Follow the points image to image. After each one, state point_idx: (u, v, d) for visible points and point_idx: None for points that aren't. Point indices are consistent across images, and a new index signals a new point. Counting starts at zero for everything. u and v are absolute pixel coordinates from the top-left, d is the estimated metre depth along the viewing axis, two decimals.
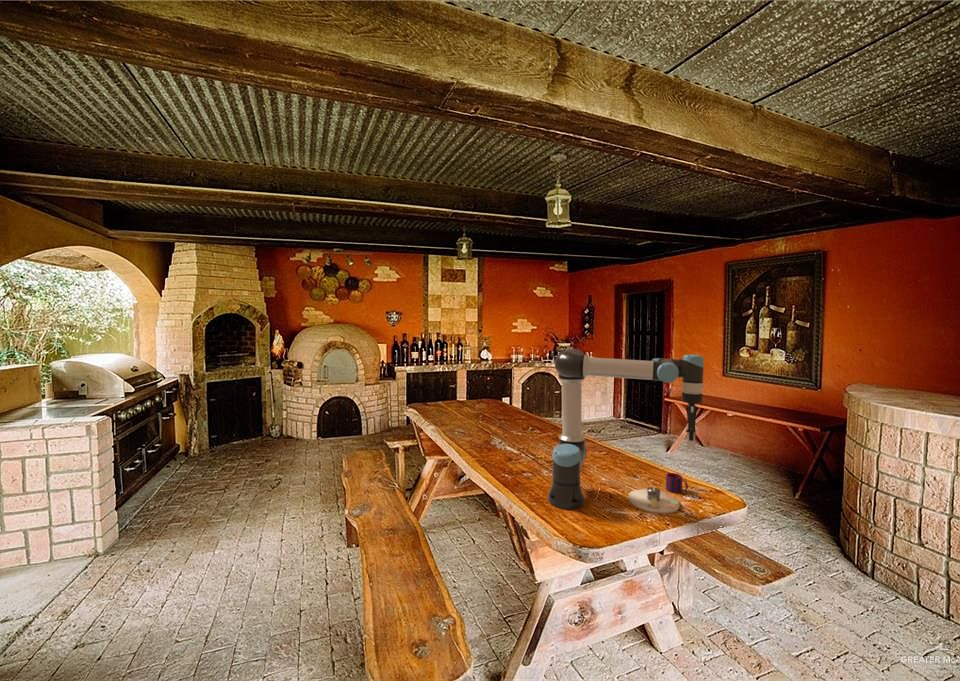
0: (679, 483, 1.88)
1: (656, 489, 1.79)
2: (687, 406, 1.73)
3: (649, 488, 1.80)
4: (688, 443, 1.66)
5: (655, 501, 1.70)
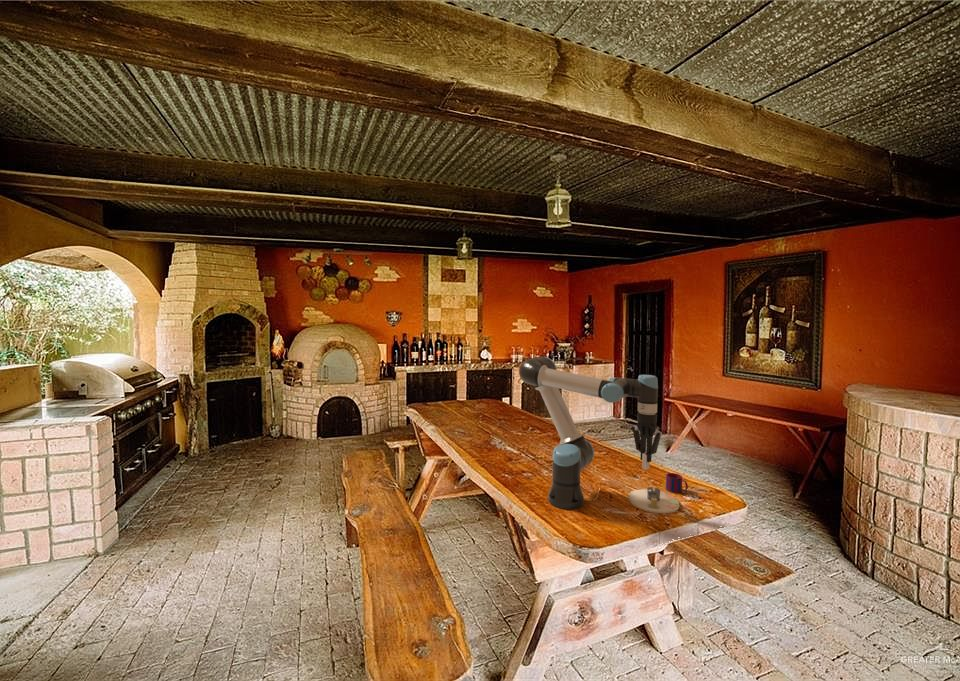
0: (679, 483, 1.88)
1: (656, 489, 1.79)
2: None
3: (649, 488, 1.80)
4: None
5: (655, 501, 1.70)
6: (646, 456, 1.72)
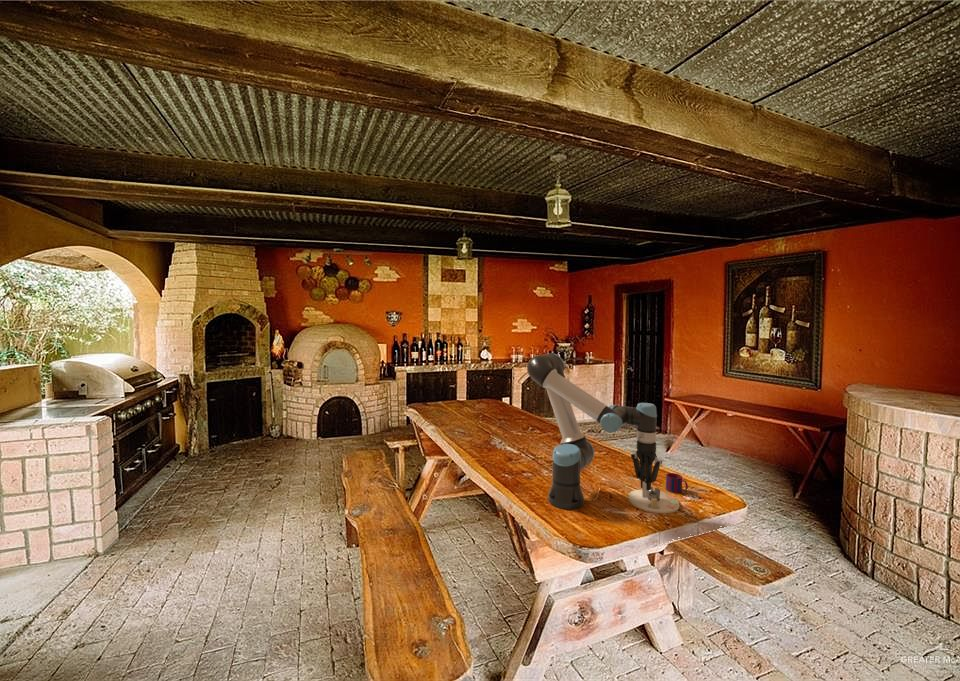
0: (679, 483, 1.88)
1: (656, 489, 1.79)
2: None
3: None
4: None
5: (655, 501, 1.70)
6: (646, 484, 1.73)
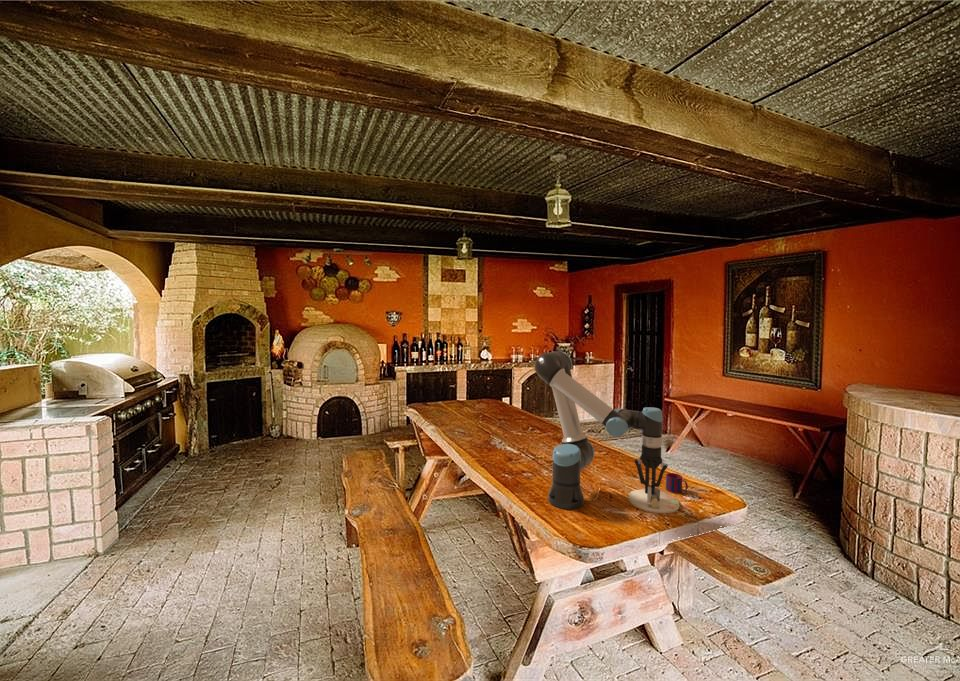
0: (679, 483, 1.88)
1: (656, 489, 1.79)
2: None
3: None
4: None
5: (655, 501, 1.70)
6: (651, 489, 1.72)
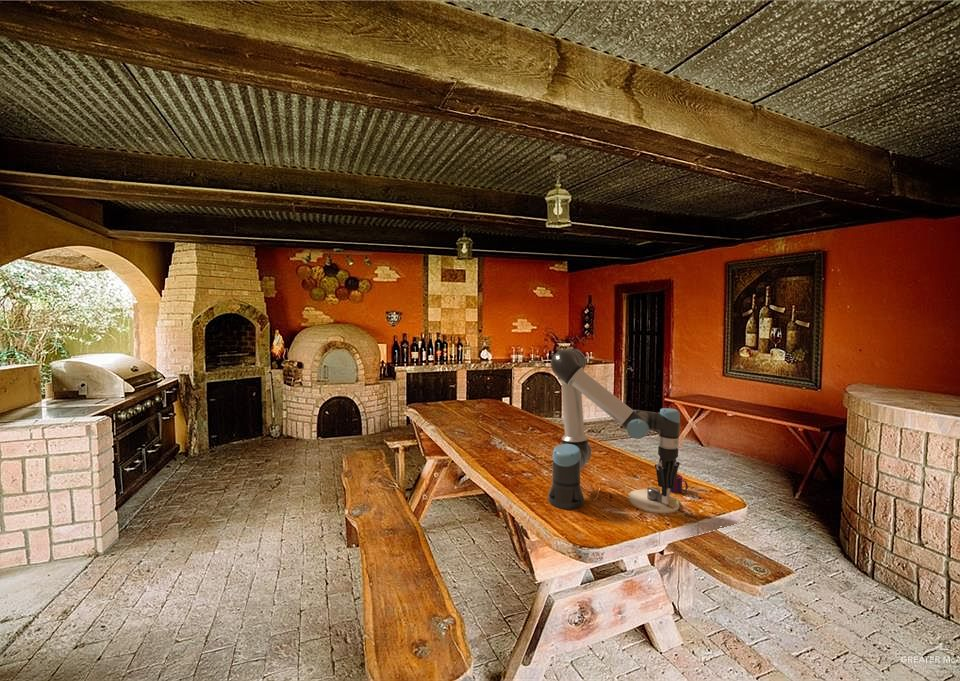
0: (679, 483, 1.88)
1: (654, 488, 1.80)
2: None
3: (650, 489, 1.78)
4: (662, 498, 1.73)
5: (675, 500, 1.71)
6: None
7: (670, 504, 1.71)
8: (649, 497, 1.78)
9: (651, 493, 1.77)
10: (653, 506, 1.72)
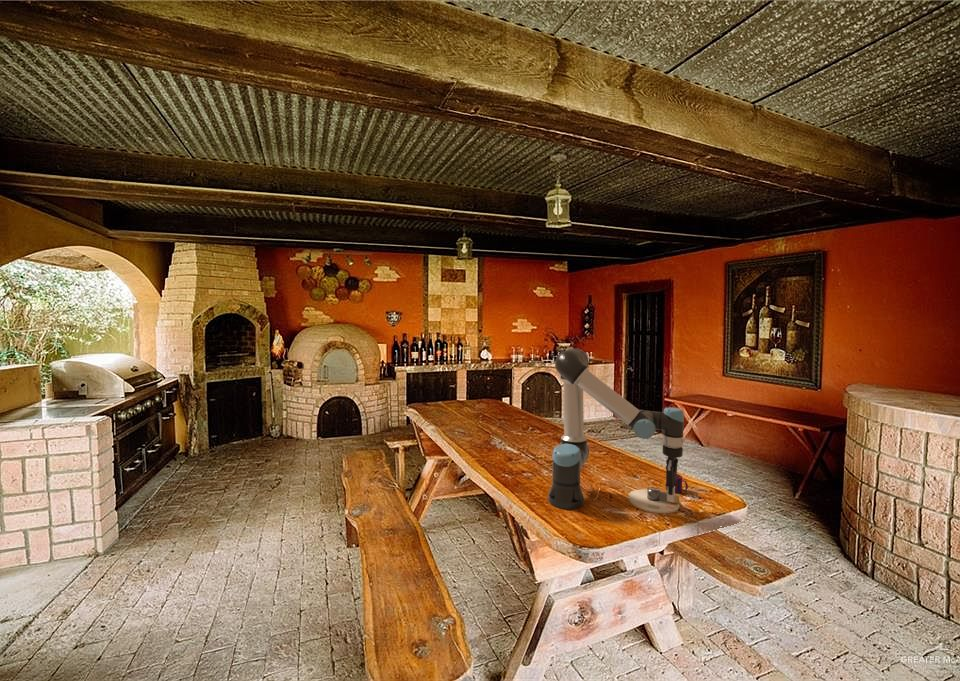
0: (679, 483, 1.88)
1: (652, 488, 1.80)
2: None
3: (652, 490, 1.78)
4: (668, 497, 1.74)
5: None
6: None
7: (676, 501, 1.74)
8: (652, 498, 1.77)
9: (654, 494, 1.77)
10: (653, 506, 1.72)
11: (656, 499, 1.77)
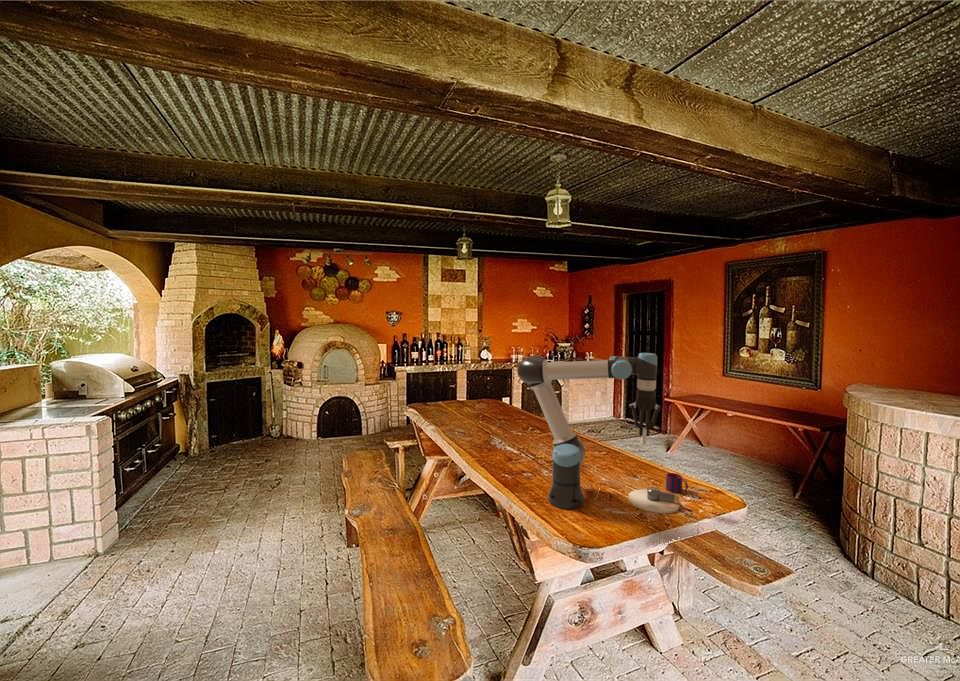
0: (679, 483, 1.88)
1: (652, 488, 1.80)
2: None
3: (652, 490, 1.78)
4: (641, 438, 1.81)
5: None
6: (646, 431, 1.79)
7: (676, 501, 1.74)
8: (652, 498, 1.77)
9: (654, 494, 1.77)
10: (653, 506, 1.72)
11: (656, 499, 1.77)
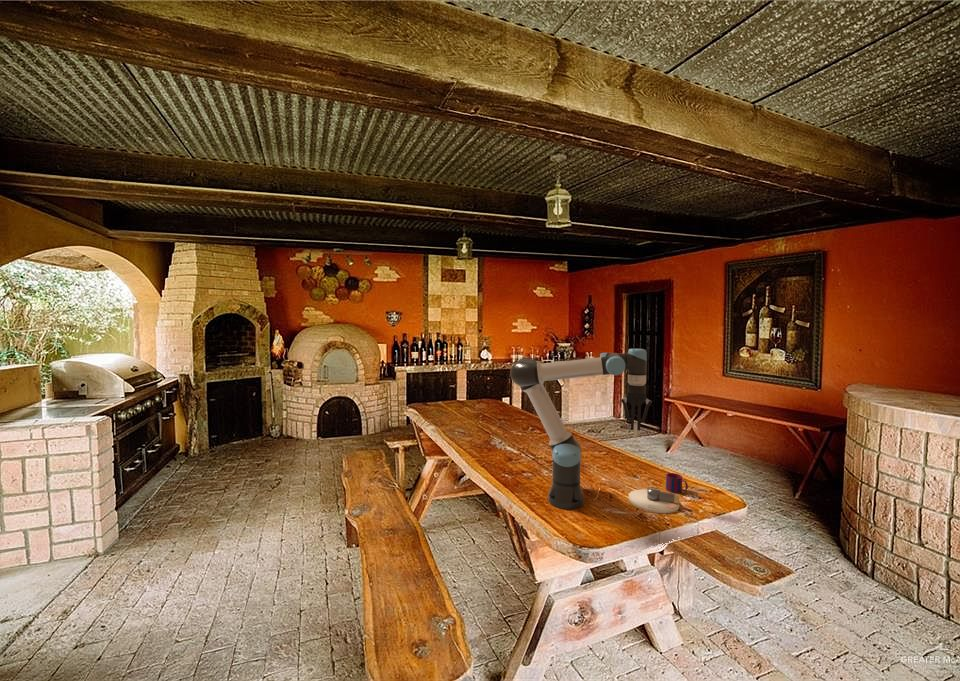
0: (679, 483, 1.88)
1: (652, 488, 1.80)
2: None
3: (652, 490, 1.78)
4: None
5: None
6: (637, 425, 1.83)
7: (676, 501, 1.74)
8: (652, 498, 1.77)
9: (654, 494, 1.77)
10: (653, 506, 1.72)
11: (656, 499, 1.77)
